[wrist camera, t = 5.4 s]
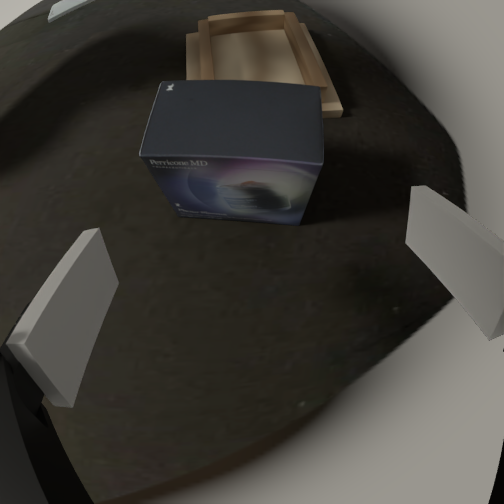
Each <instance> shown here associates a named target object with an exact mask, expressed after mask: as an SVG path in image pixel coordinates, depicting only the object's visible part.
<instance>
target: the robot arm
mask: <svg viewBox="0 0 504 504" xmlns="http://www.w3.org/2000/svg"><path fill="white" fill-rule="evenodd" d="M405 243H406V244H407V245H408V246H409V247H410V248H411V249H412V250H413V251H414V252H415V254H416V255H417V256H418V257H419V258H420V259H421V260H422V261H423V262H424V263H425V264H426V265H427V266H428V268H429V269H430V270H431V271H432V272H433V273H434V274H435V275H436V276H437V278H438V279H439V280H440V281H441V282H442V283H443V284H444V286H445V287H446V288H447V289H448V290H449V291H450V292H451V294H452V295H453V296H454V297H455V298H456V300H457V301H458V302H459V303H460V304H461V306H462V307H463V308H464V309H465V310H466V312H467V313H468V314H469V315H470V317H471V318H472V319H473V320H474V322H475V323H476V324H477V325H478V327H479V328H480V329H481V330H482V332H483V333H484V334H485V336H486V337H487V338H488V340H489V341H490V340H492V339H494V338H496V337H499V336H501V335H503V334H504V241H503V240H502V239H500V238H499V237H498V236H496V235H495V234H494V233H492V232H491V231H490V230H488V229H487V228H486V227H485V226H483V225H482V224H481V223H479V222H478V221H476V220H475V219H474V218H473V217H471V216H470V215H468V214H467V213H466V212H464V211H463V210H461V209H460V208H458V207H457V206H456V205H454V204H453V203H451V202H450V201H448V200H447V199H445V198H444V197H442V196H441V195H439V194H438V193H436V192H435V191H433V190H431V189H430V188H428V187H427V186H411V197H410V208H409V218H408V226H407V234H406V242H405ZM118 284H119V282H118V279H117V277H116V274H115V271H114V269H113V266H112V263H111V261H110V258H109V255H108V252H107V249H106V247H105V244H104V241H103V238H102V235H101V232H100V229H99V228H96V229H90V230H85V231H83V233H82V234H81V235H80V236H79V237H78V239H77V240H76V241H75V243H74V244H73V245H72V246H71V248H70V249H69V250H68V252H67V253H66V254H65V255H64V257H63V258H62V259H61V261H60V262H59V263H58V265H57V266H56V268H55V269H54V270H53V272H52V273H51V274H50V276H49V277H48V279H47V280H46V281H45V283H44V284H43V286H42V287H41V289H40V290H39V292H38V293H37V295H36V296H35V298H34V299H33V300H32V301H31V302H30V303H28V304H27V306H26V307H25V309H24V310H23V312H22V313H21V317H19V318H18V320H17V321H16V325H14V326H13V328H12V329H11V331H10V333H9V334H8V336H7V338H6V339H5V341H4V343H3V344H2V346H1V348H0V504H94V503H93V501H92V500H91V498H90V496H89V495H88V493H87V491H86V490H85V488H84V486H83V484H82V483H81V481H80V479H79V477H78V475H77V474H76V472H75V470H74V468H73V466H72V464H71V462H70V460H69V458H68V456H67V454H66V452H65V450H64V448H63V446H62V444H61V442H60V440H59V437H58V435H57V433H56V431H55V428H54V426H53V424H52V421H51V419H50V416H49V414H48V411H47V409H46V408H45V407H44V405H43V404H42V403H41V402H42V399H43V397H44V395H45V396H46V397H47V398H48V399H49V400H50V402H51V403H52V404H53V405H54V406H61V407H72V408H73V405H74V402H75V398H76V395H77V392H78V389H79V386H80V383H81V380H82V377H83V374H84V371H85V368H86V365H87V362H88V360H89V357H90V354H91V351H92V349H93V346H94V343H95V341H96V338H97V335H98V333H99V330H100V328H101V325H102V323H103V320H104V318H105V315H106V313H107V310H108V308H109V305H110V303H111V300H112V298H113V296H114V293H115V291H116V289H117V286H118ZM503 352H504V350H503ZM488 504H504V441H503V446H502V452H501V457H500V461H499V466H498V470H497V474H496V478H495V482H494V486H493V490H492V493H491V496H490V500H489V503H488Z"/></svg>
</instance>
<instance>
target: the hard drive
mask: <svg viewBox="0 0 504 504" xmlns="http://www.w3.org/2000/svg"><path fill="white" fill-rule="evenodd" d="M93 1H95V0H62V1H60V2H58V3H56V4H55V5H53V6H52V8H51V11H50V14H49V17H48V22H49V23H50V22H52V21H54V20H56V19H58V18H60V17H61V16H63V15H65V14H67V13H69V12H71V11H73V10H75V9H77V8H80V7H82V6H84V5H86V4H88V3H90V2H93Z"/></svg>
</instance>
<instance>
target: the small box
mask: <svg viewBox="0 0 504 504" xmlns="http://www.w3.org/2000/svg"><path fill="white" fill-rule="evenodd" d="M139 156H140V157H141V159H142V160H143V161H144V163H145V164H146V166H147V168H148V169H149V171H150V173H151V174H152V176H153V177H154V179H155V181H156V182H157V184H158V185H159V187H160V188H161V190H162V192H163V193H164V195H165V196H166V198H167V199H168V201H169V202H170V204H171V206H172V207H173V209H174V210H175V212H176V214H177V215H178V216H179V217H189V218H204V219H219V220H233V221H246V222H259V223H272V224H284V225H295V226H299V225H300V222H301V219H302V217H303V214H304V212H305V209H306V206H307V203H308V201H309V198H310V196H311V193H312V191H313V188H314V186H315V183H316V181H317V178H318V175H319V173H320V170H321V169H322V166H323V163H324V140H323V116H322V101H321V89H320V87H319V86H313V85H303V84H293V83H281V82H267V81H251V80H177V81H163V82H161V83H160V86H159V89H158V92H157V96H156V98H155V101H154V104H153V107H152V111H151V114H150V117H149V120H148V124H147V127H146V130H145V134H144V137H143V140H142V145H141V148H140V152H139Z"/></svg>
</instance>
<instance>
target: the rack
mask: <svg viewBox="0 0 504 504" xmlns="http://www.w3.org/2000/svg"><path fill="white" fill-rule="evenodd" d="M198 31H199V32H196V33H191V34H186V71H187V80H251V81H267V82H281V83H293V84H303V85H313V86H319V87H320V89H321V101H322V116H323V118H339V117H341V115H342V112H343V108H342V106H341V103H340V101H339V98H338V96H337V93H336V91H335V88H334V86H333V84H332V81H331V79H330V77H329V74H328V72H327V70H326V68H325V65H324V63H323V61H322V59H321V57H320V54H319V52H318V50H317V48H316V46H315V44H314V42H313V40H312V38H311V36H310V34H309V32H308V30H307V28H306V26H305V24H304V23H299V22H298V20H297V18H296V16H295V14H294V12H290V13H284V12H283V10H270V11H253V12H241V13H231V14H223V15H215V16H208V19H206V20H200V21H198Z"/></svg>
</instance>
